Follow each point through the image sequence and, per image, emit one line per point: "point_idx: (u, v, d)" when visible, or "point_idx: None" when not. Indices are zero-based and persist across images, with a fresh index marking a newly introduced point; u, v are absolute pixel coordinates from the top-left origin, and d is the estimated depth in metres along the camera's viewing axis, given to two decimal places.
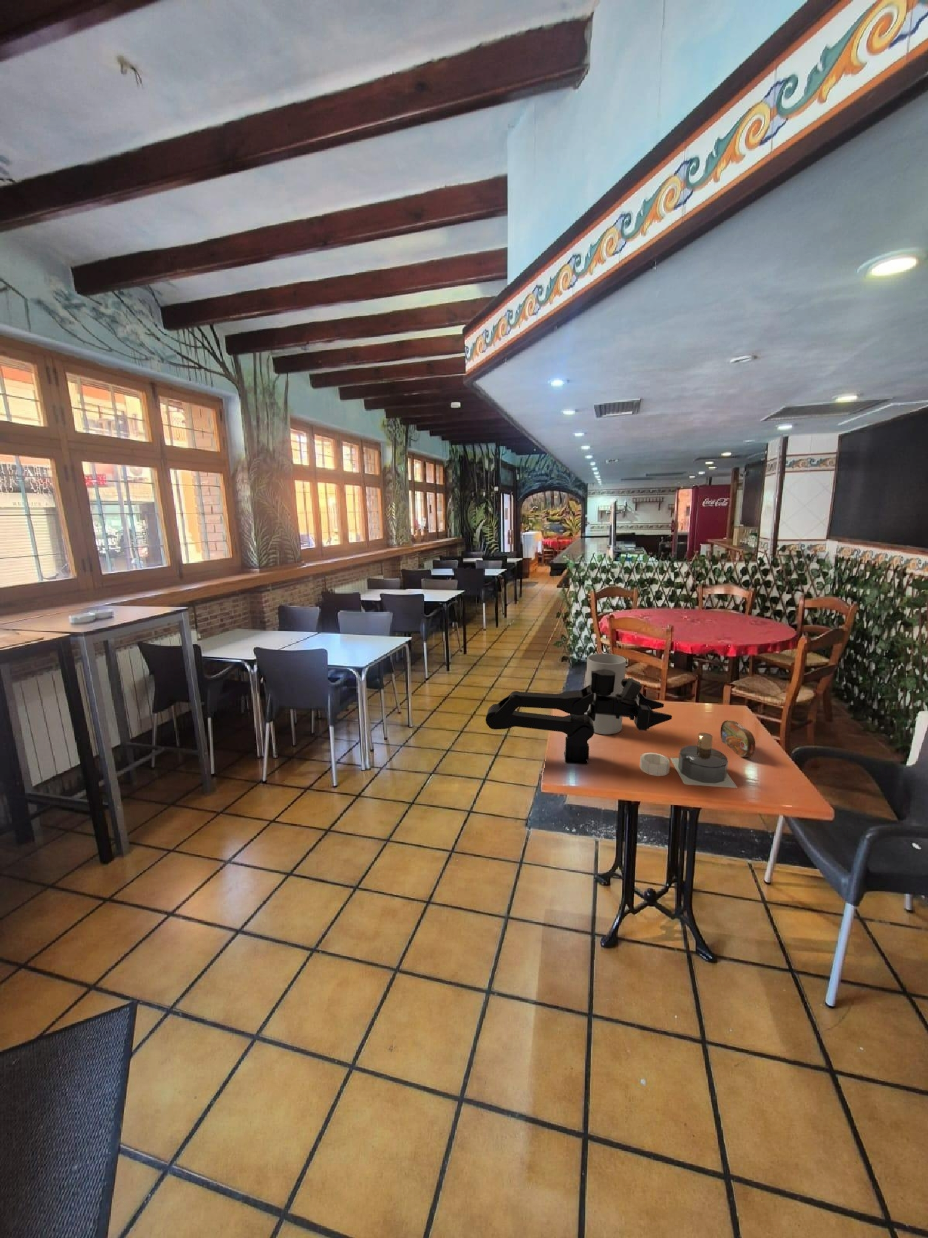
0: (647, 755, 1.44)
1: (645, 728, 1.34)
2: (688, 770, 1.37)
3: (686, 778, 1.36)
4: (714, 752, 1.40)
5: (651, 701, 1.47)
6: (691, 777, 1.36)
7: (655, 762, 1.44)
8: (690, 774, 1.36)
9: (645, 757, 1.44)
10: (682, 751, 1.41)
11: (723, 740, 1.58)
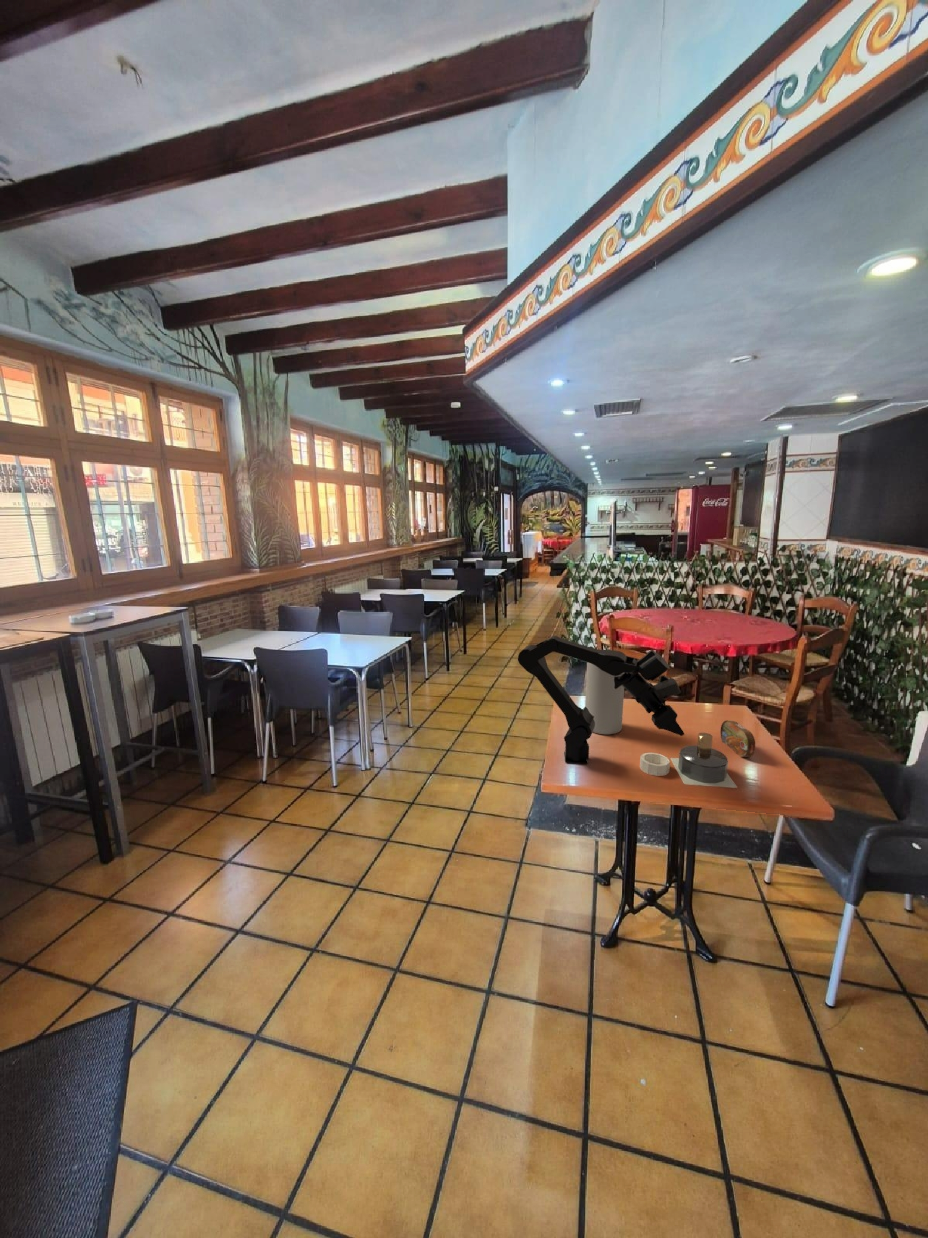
0: (647, 755, 1.44)
1: (661, 726, 1.30)
2: (688, 770, 1.37)
3: (686, 778, 1.36)
4: (714, 752, 1.40)
5: None
6: (691, 777, 1.36)
7: (655, 762, 1.44)
8: (690, 774, 1.36)
9: (645, 757, 1.44)
10: (682, 751, 1.41)
11: (723, 740, 1.58)
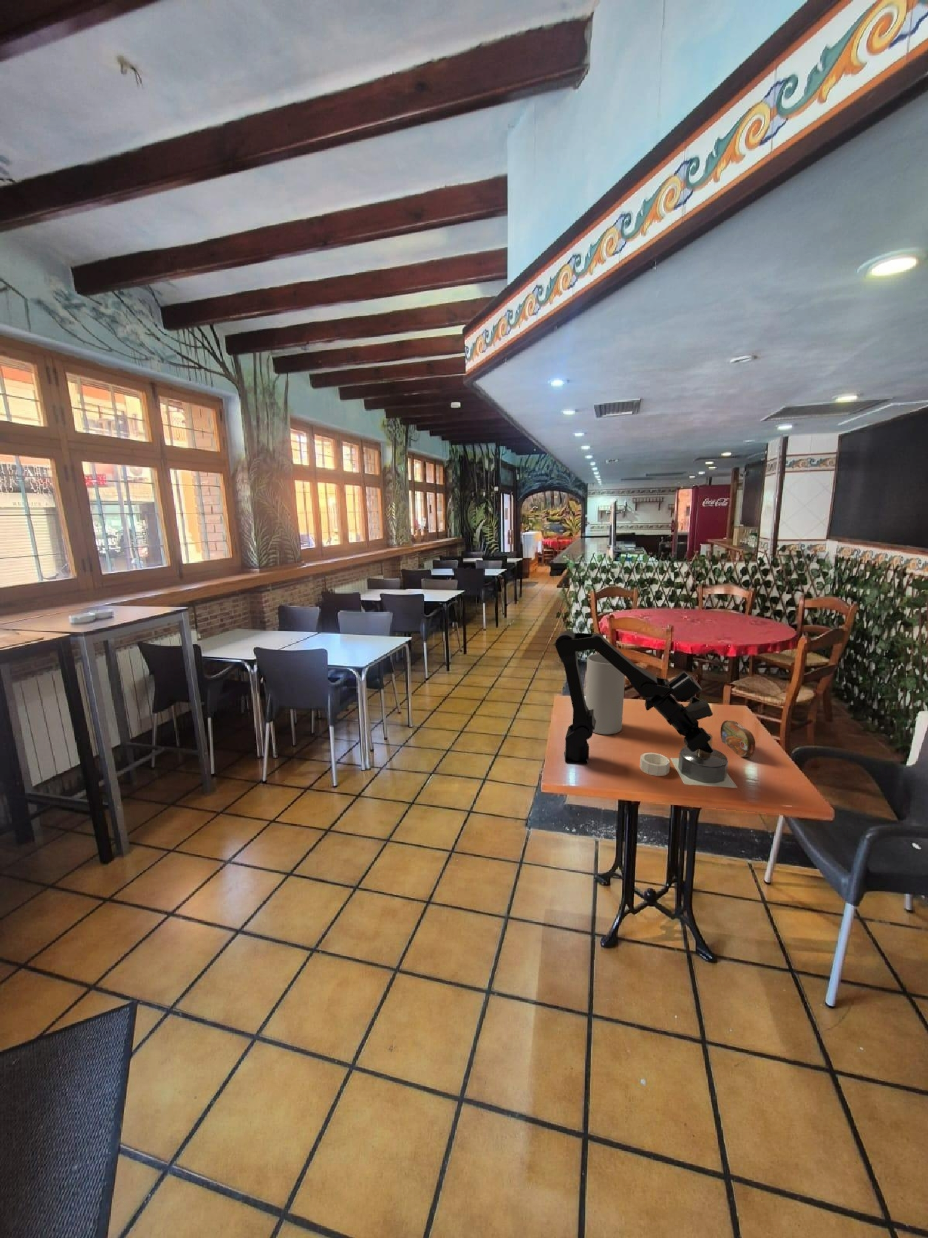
0: (647, 755, 1.44)
1: (694, 749, 1.29)
2: (688, 770, 1.37)
3: (686, 778, 1.36)
4: (714, 752, 1.40)
5: None
6: (691, 777, 1.36)
7: (655, 762, 1.44)
8: (690, 774, 1.36)
9: (645, 757, 1.44)
10: (682, 751, 1.41)
11: (723, 740, 1.58)
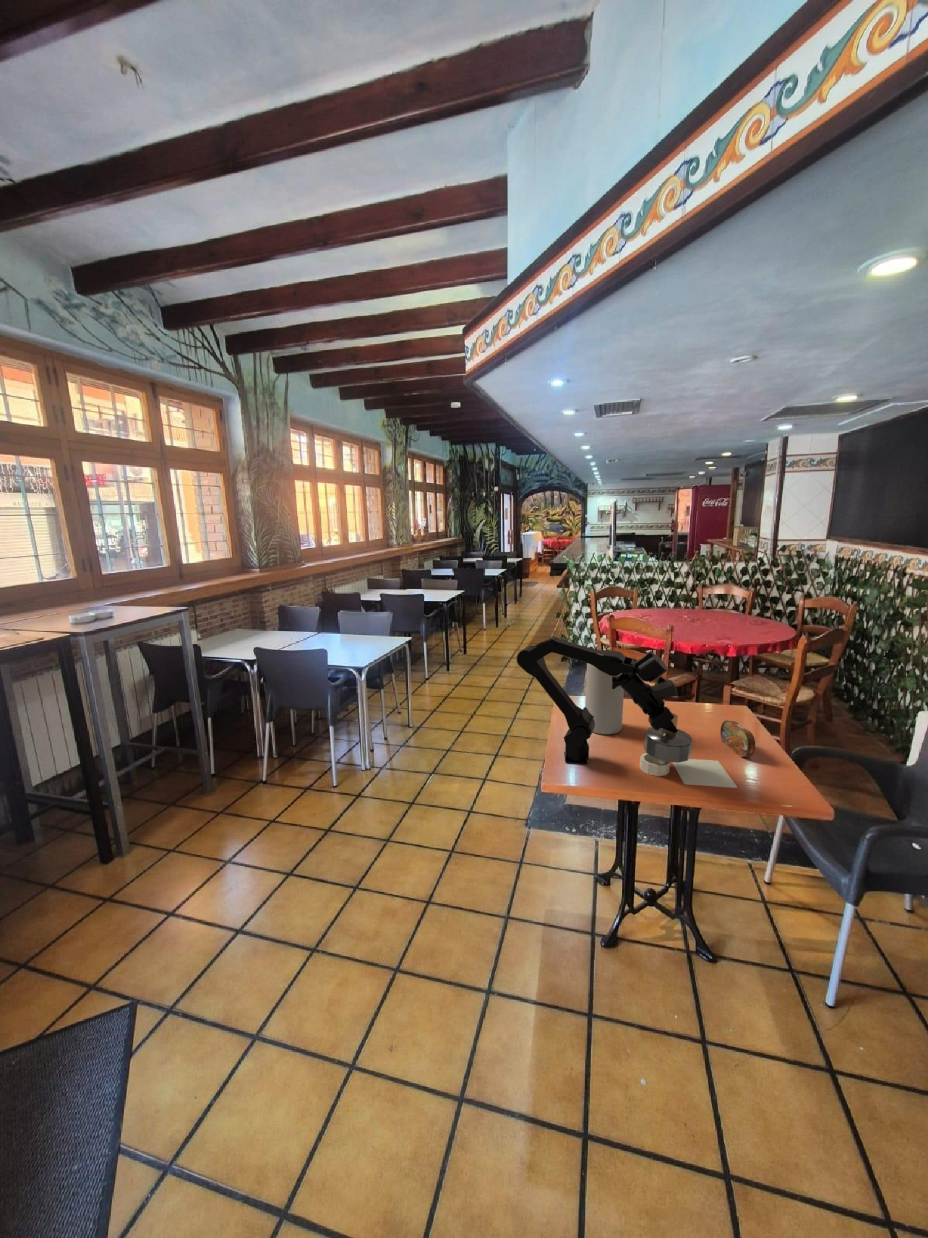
0: (647, 755, 1.44)
1: (657, 728, 1.30)
2: (653, 749, 1.37)
3: (686, 778, 1.36)
4: (679, 732, 1.41)
5: None
6: (655, 756, 1.37)
7: (655, 762, 1.44)
8: (654, 753, 1.37)
9: (645, 757, 1.44)
10: (648, 731, 1.42)
11: (723, 740, 1.58)
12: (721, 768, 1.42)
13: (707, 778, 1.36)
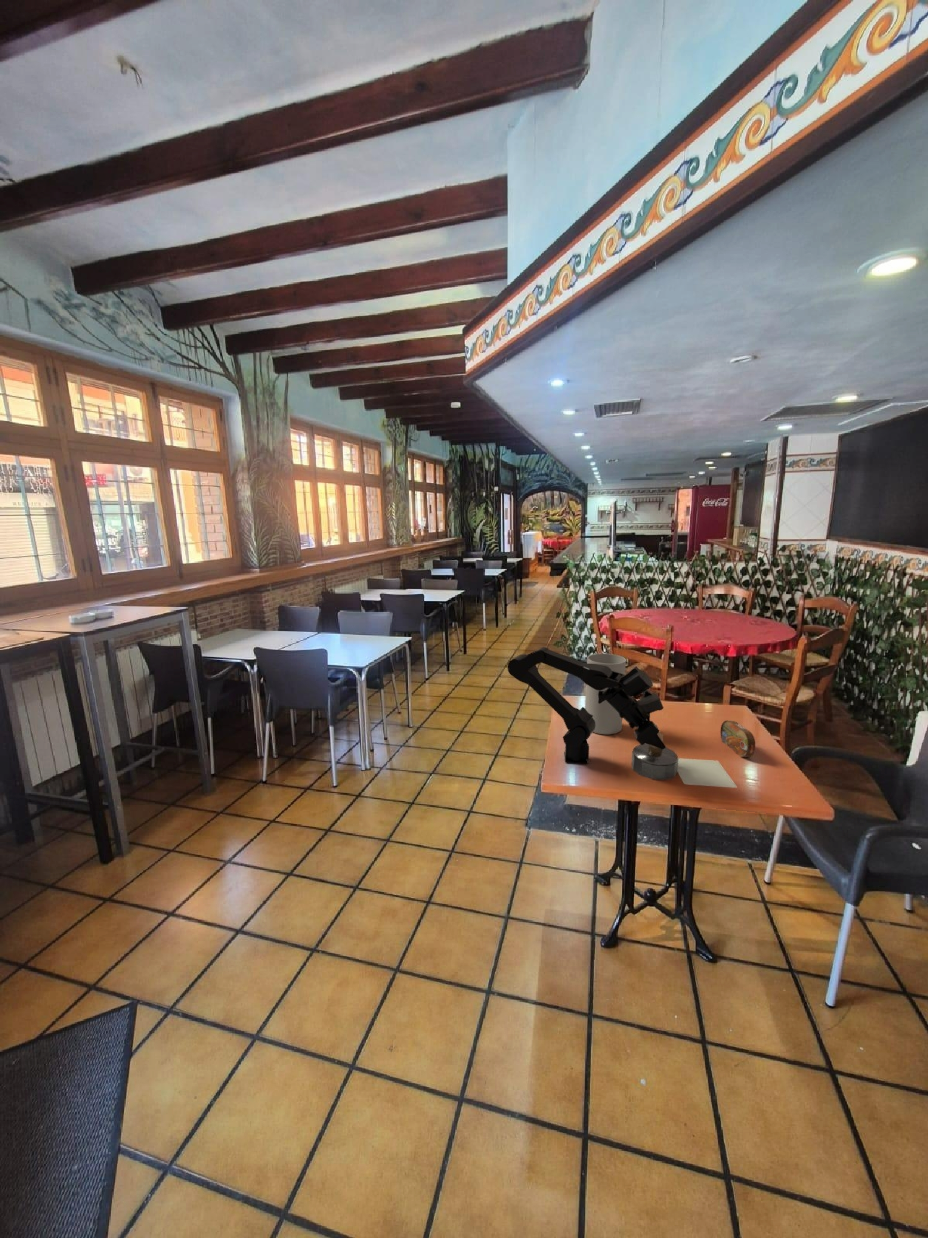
0: None
1: (643, 742, 1.31)
2: (639, 768, 1.39)
3: (686, 778, 1.36)
4: (666, 750, 1.42)
5: None
6: (642, 775, 1.38)
7: None
8: (641, 772, 1.38)
9: None
10: (635, 749, 1.43)
11: (723, 740, 1.58)
12: (721, 768, 1.42)
13: (707, 778, 1.36)
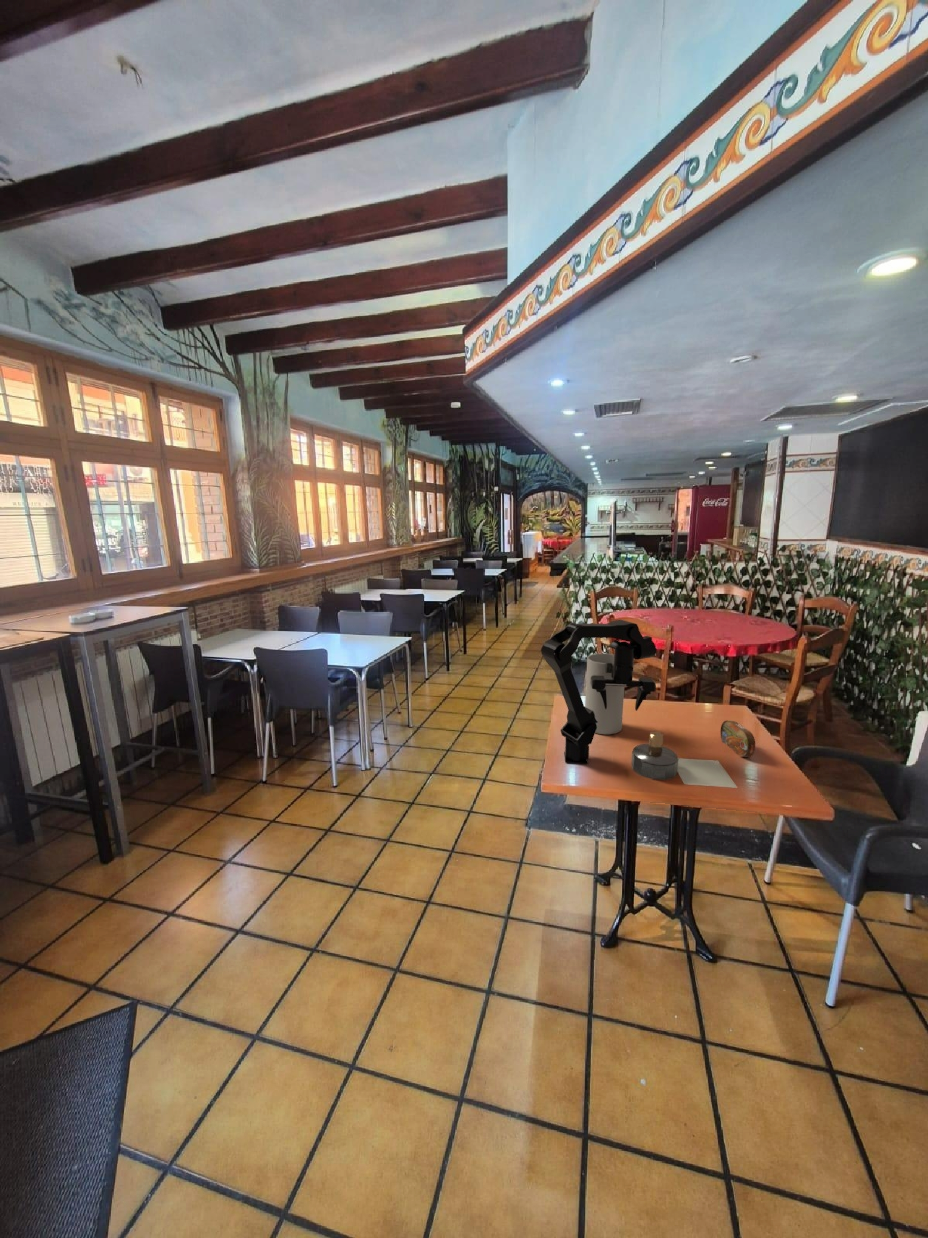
0: None
1: None
2: (639, 768, 1.39)
3: (686, 778, 1.36)
4: (666, 750, 1.42)
5: None
6: (642, 775, 1.38)
7: None
8: (641, 772, 1.38)
9: None
10: (635, 749, 1.43)
11: (723, 740, 1.58)
12: (721, 768, 1.42)
13: (707, 778, 1.36)
